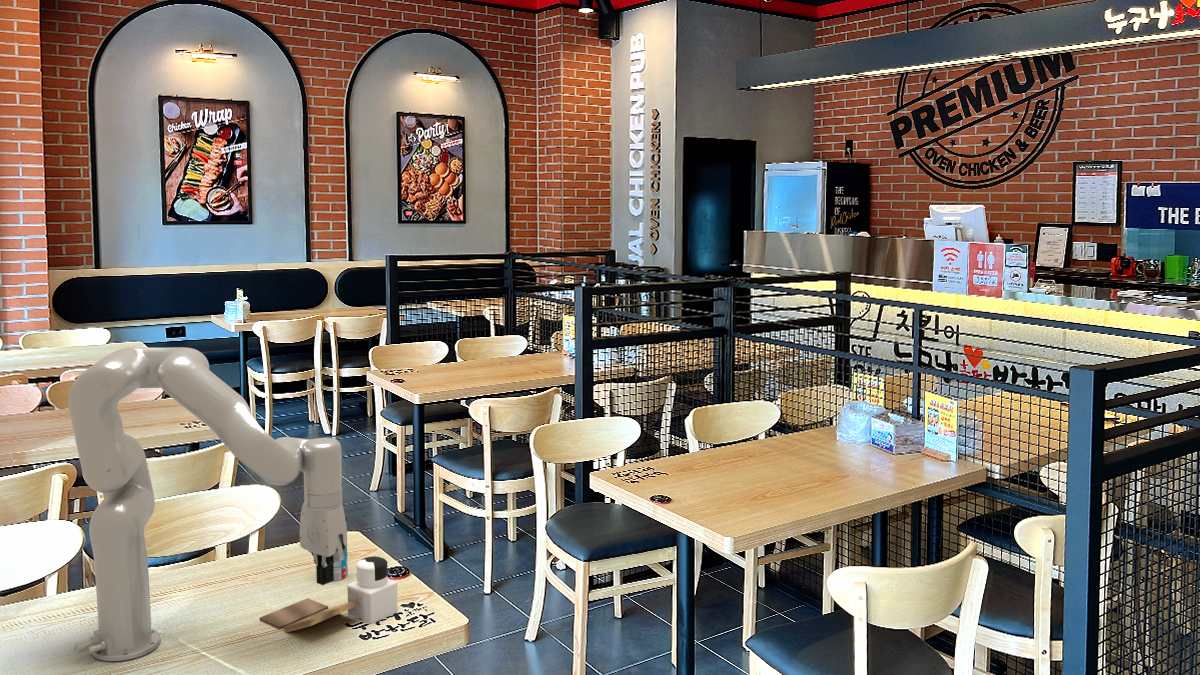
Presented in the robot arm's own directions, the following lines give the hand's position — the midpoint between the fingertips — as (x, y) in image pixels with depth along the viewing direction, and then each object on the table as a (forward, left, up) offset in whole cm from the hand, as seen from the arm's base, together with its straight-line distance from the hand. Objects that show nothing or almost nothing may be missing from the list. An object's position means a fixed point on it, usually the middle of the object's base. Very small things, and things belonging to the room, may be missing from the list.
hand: (325, 582), depth 202 cm
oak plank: (0, +1, -8) cm, 9 cm away
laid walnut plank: (0, +5, -11) cm, 12 cm away
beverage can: (+19, +20, -11) cm, 30 cm away
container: (+11, -2, -11) cm, 16 cm away
